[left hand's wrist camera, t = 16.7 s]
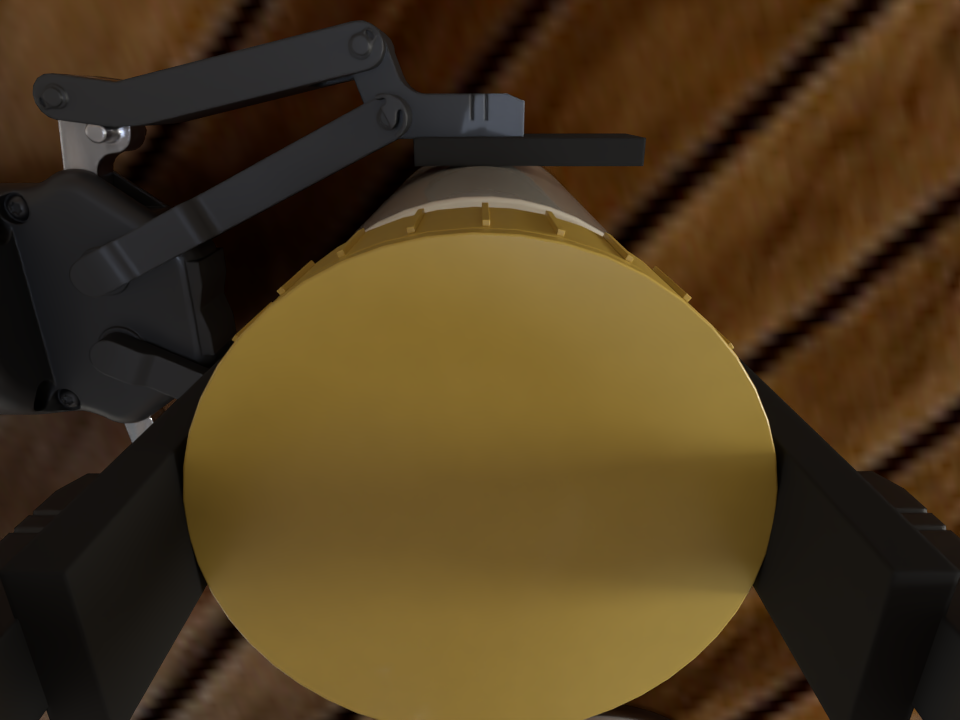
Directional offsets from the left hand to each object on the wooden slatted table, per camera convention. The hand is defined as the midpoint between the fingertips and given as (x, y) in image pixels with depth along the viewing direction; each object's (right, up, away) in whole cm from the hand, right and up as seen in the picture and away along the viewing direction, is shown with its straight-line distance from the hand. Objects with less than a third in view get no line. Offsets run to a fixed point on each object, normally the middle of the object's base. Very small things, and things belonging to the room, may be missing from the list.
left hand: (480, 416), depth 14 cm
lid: (0, -1, -3) cm, 3 cm away
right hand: (+5, +3, +7) cm, 9 cm away
